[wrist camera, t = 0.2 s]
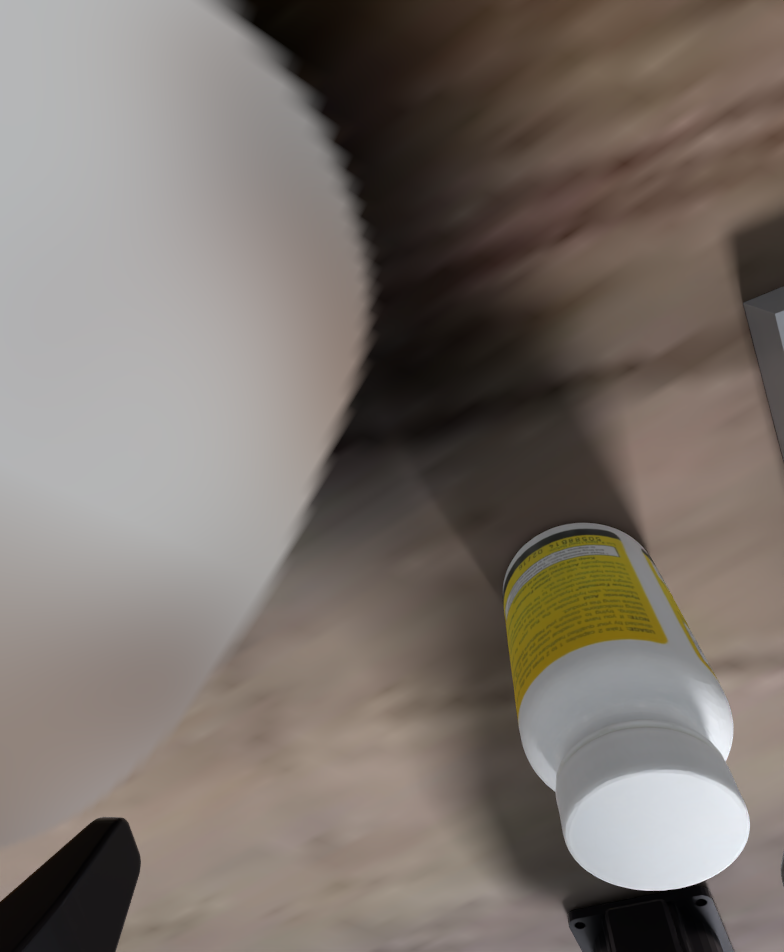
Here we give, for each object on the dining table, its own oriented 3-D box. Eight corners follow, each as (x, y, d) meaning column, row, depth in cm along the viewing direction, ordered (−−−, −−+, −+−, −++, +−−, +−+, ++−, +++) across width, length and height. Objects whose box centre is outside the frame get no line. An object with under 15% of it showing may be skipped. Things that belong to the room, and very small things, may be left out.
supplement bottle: (471, 600, 23) (482, 846, 15) (562, 490, 21) (641, 698, 12) (589, 668, 24) (669, 942, 15) (688, 568, 22) (848, 817, 13)
